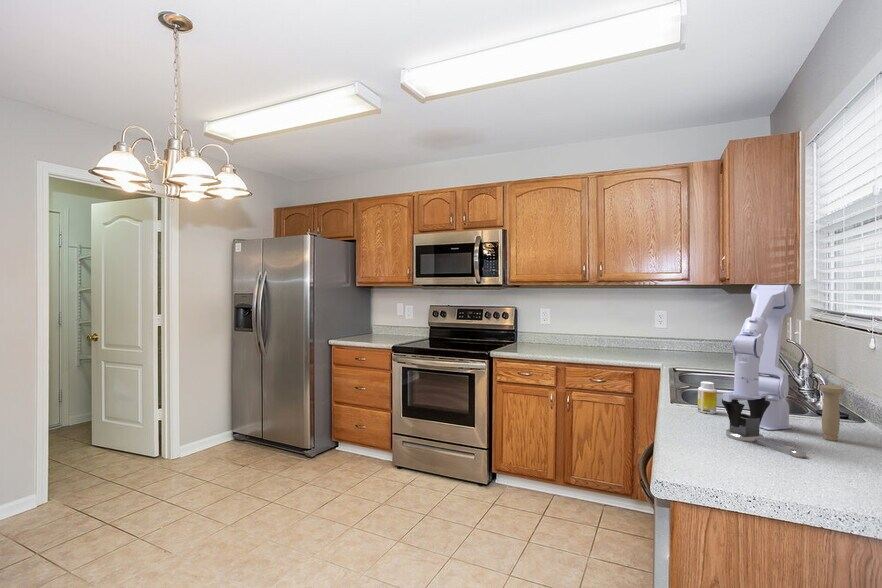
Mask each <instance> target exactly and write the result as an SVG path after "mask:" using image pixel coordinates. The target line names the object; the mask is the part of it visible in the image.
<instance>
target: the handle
mask: <svg viewBox="0 0 882 588" xmlns="http://www.w3.org/2000/svg"><path fill="white" fill-rule="evenodd" d="M819 390H820V392H822V393H823V402H822V411H821V432H822V433H821V434H822V439H824V440H827V441H830V442H834V441H836V442H837V441H838V440H839V436H838V435H839V433H840V426H841V424H840V423H841V421H840V420H841V415H840V396H841V395H843V394H844V387H842V386H840V385H835V384H834V385H833V384H820V386H819Z"/></svg>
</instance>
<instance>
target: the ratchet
mask: <svg viewBox="0 0 882 588" xmlns="http://www.w3.org/2000/svg"><path fill="white" fill-rule="evenodd" d="M725 430H726V431H725V435H726V437H728V436H729V437H728V438H730V437H731V438H730V439H732V438H733V440H736V441H739V440H740V442H744V443H751V442H752V444H753V443H754V444H758V445H761V446H764V447H766V448H770V449H772V450H775V451H776V452H777V451H778V452H781V453H784V454H786V455H790V456H791V457H794V458H798V459H806V458H807V451H804V450H802V449H797V448H795V447H792V446H789V445H786V444H783V443H780V442H777V441H774V440H772V439H768V438H765V436H764V435H763V434H760V433H759V436H752V437H744V436H741V435H738V434H735V433H732V432H730V428H728V429H725Z"/></svg>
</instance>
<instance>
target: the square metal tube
mask: <svg viewBox="0 0 882 588" xmlns="http://www.w3.org/2000/svg"><path fill="white" fill-rule="evenodd" d="M729 429H730V432H732V433H735V434H738V435H741V436H744V437H752V436H759V434H760V418H758V417H754V416H751V415H750V414H747V413H741V417H740V425H739V427H734V426H731V424H730V423H729Z"/></svg>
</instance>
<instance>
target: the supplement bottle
mask: <svg viewBox="0 0 882 588" xmlns="http://www.w3.org/2000/svg"><path fill="white" fill-rule="evenodd" d="M717 392H718V390H717V389H716V388H715V383H714V382H711V381H706V380H705V381H704V380H703V381H700V386H699V387H698V388H697V411H698V412H700V413H702V414H706V413H707V414H709V415H714V414H716V413H717V396H718V395H717V394H718V393H717Z"/></svg>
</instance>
